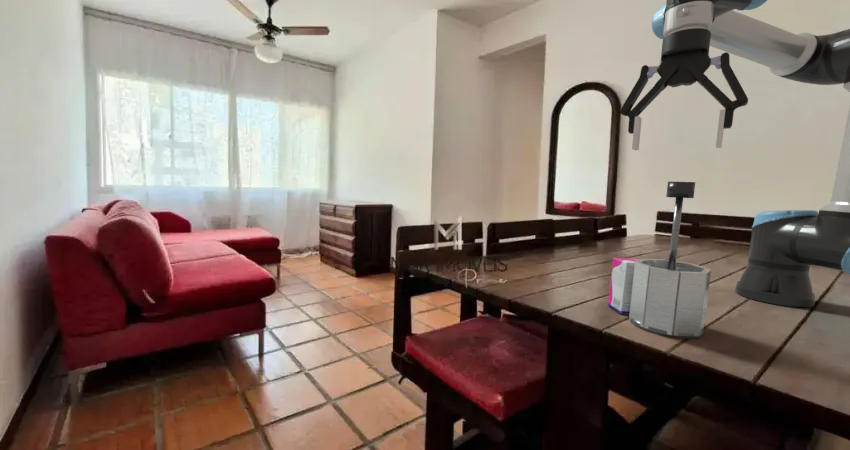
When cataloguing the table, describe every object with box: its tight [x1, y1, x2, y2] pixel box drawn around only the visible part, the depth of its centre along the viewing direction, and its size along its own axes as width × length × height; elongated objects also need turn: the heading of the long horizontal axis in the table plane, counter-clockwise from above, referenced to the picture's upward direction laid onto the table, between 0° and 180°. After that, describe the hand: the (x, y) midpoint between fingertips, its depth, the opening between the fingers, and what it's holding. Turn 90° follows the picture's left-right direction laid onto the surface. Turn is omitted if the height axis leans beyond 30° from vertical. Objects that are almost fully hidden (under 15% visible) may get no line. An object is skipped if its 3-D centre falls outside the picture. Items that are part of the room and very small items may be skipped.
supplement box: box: [607, 257, 639, 315], centre depth 83 cm, size 6×6×12 cm
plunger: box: [665, 181, 696, 271], centre depth 73 cm, size 8×8×20 cm
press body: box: [628, 258, 712, 340], centre depth 75 cm, size 12×15×12 cm
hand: (674, 148), depth 72 cm, fingers open, 13 cm apart
